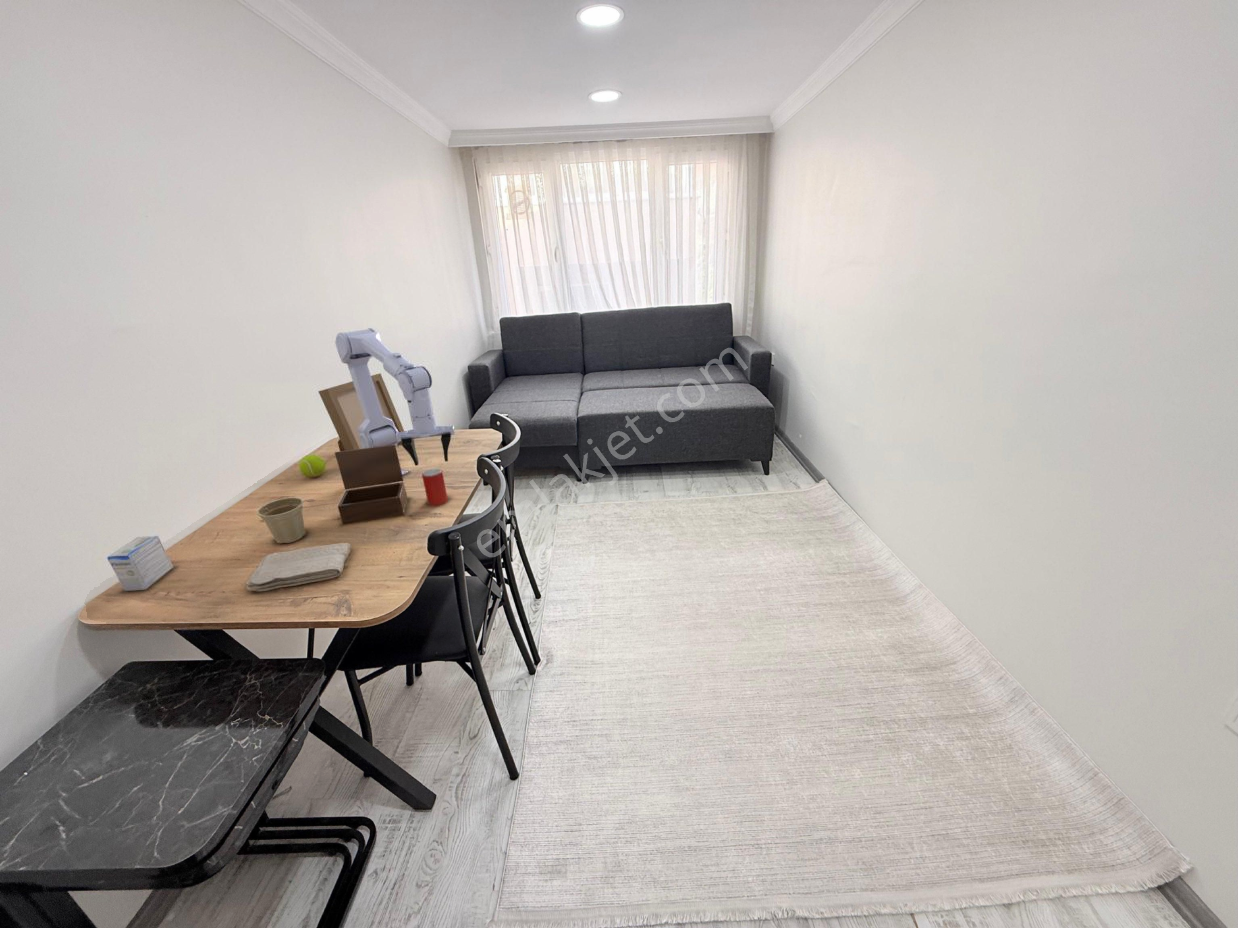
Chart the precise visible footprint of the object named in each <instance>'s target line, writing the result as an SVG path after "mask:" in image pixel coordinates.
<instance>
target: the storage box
mask: <svg viewBox="0 0 1238 928" xmlns="http://www.w3.org/2000/svg"><path fill="white" fill-rule="evenodd" d="M408 500H409V497H408V493H407V490H406V486H405V482H404V481H401V482H394V483H387V484H380V485H373V486H366V487H359V488H352V489H345V491H344V493H343V495H342V497H341V499H340V501H339V502H338V505H337V510H338V513H339V516H340V519H341V523H342V525H343V526H344V525H350V524H357V523H362V522H369V521H375V520H381V519H388V518H394V517H400V516H405V512H406V509H407V504H408Z"/></svg>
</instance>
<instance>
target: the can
mask: <svg viewBox="0 0 1238 928" xmlns="http://www.w3.org/2000/svg"><path fill="white" fill-rule="evenodd" d="M421 477H422V481H423V486H424V487H423V488H424V491H425V495H426V500H427V503H428V505H430V506H435V507H436V506H442V505H443V504H446V503H447V502H448V500H449V498H448V493H447V488H446V482H445V478H444V473H443V470H442V469H440V468H430V469H426V470H425V471H423V472H422V474H421Z"/></svg>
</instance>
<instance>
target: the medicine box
mask: <svg viewBox="0 0 1238 928" xmlns="http://www.w3.org/2000/svg"><path fill="white" fill-rule="evenodd" d="M106 558H107V561H108V563H109V565H110V567H111V569H112V571H113V572H114V574H115V576H116V577H117V580H118V582H119V583H120V585H121V587H122V589H123V590H124V591H126V592H132V591H145V590H147V589H148V588H150V587H151V586H152V585H153V584H155V583H156V582H157V581H158V580H160V579H161V578H162V577H163V576H165V575H166V574H167V573H168V572H169V571H170V570H172V569H173V568H174V566H173V564H172V562H171V560H170V557H169V555H168V553H167V551H166V549H165V547H164V545H163V542H162V540H161V538H160V537H159V535H145V536H137V537H135V538H134V539H132V540H131V541H129V542H127V543H126V544H124V545H123V546H121V547H120V548H119V549H117V550H115V551H114V552H113V553H111V554H109V555H108V556H107V557H106Z"/></svg>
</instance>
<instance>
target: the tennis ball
mask: <svg viewBox="0 0 1238 928" xmlns="http://www.w3.org/2000/svg"><path fill="white" fill-rule="evenodd" d="M326 465H327V464H326V462H325V460H324V459H323V458H322V457H321V456H319V455H318V454H308V455H305V456H304V457H302V458H301V459H300V461H299V463H298V470H299V471H300V473H301V474H302V475H304V476H305V477H308V478H317V477H319V476H321V475H322V474H323V473H325V471H326Z"/></svg>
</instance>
